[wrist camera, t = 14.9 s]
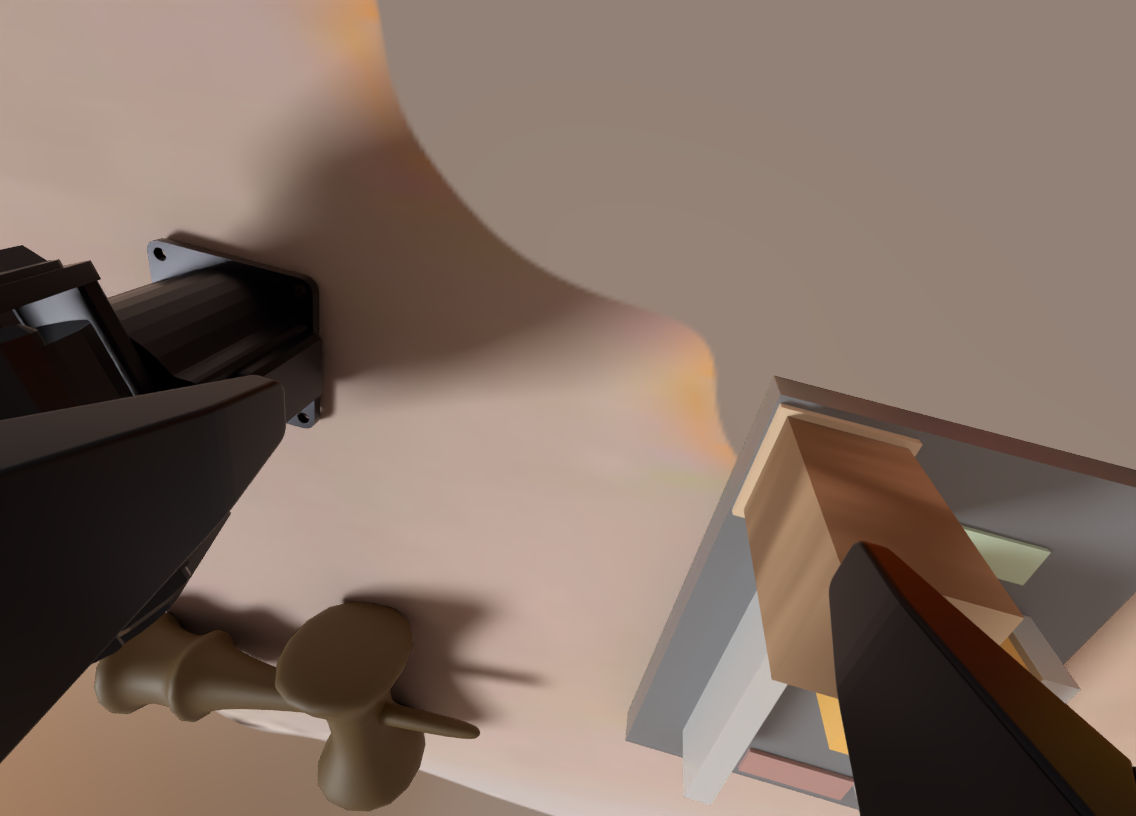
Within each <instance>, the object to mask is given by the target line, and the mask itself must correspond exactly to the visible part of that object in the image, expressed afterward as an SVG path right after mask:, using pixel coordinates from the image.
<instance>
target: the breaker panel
mask: <svg viewBox="0 0 1136 816" xmlns="http://www.w3.org/2000/svg"><path fill="white" fill-rule="evenodd" d="M787 416H789V417H792V418H796V419H800V420H804V421H807V422H811V423H815V424H819V425H822V426H826V427H830V428H834V429H837V430H841V431H845V432H848V433H852V434H856V435H860V436H863V437H867V438H871V439H875V440H878V441H882V442H886V443H890V444H893V445H897V446H901V447H905V448H908V449H910V451H911V452H912V454H913V455H914V457H915V458H916V460H917V461H918V463H919V464H920V466H921V467H922V468H923V470H924V471H925V473H926V474H927V476H928V477H929V479H930V480H931V482H932V483H933V485H934V486H935V488H936V489H937V490H938V492H939V493H940V495H941V496H942V498H943V499H944V501H945V502H946V504H947V505H948V507H949V508H950V510H951V511H952V512H953V514H954V515H955V517H956V518H957V520H958V521H959V523H960V524H961V526H962V527H963V529H964V530H965V532H966V533H967V534H968V536H969V537H970V539H971V540H972V542H973V543H974V545H975V546H976V548H977V549H978V551H979V552H980V554H981V555H982V556H983V558H984V559H985V561H986V562H987V564H988V565H989V567H990V568H991V570H992V571H993V573H994V574H995V576H996V577H997V579H998V580H999V581H1000V583H1001V584H1002V586H1003V587H1004V589H1005V590H1006V592H1007V593H1008V595H1009V596H1010V598H1011V599H1012V601H1013V602H1014V603H1015V605H1016V606H1017V608H1018V609H1019V611H1020V612H1021V614H1022V615H1023V617H1024V619H1023V620H1022V621H1021V623H1020V624H1019V625H1018V626H1017V627H1016V628H1015V629H1014V630H1013V632H1012V633H1011V634H1010V635H1009V636H1008V638H1009V639H1010V641H1011V643H1012V644H1013V646H1014V647H1015V649H1016V651H1017V652H1018V654H1019V655H1020V657H1021V659H1022V660H1023V662H1024V663H1025V665H1026V667H1027V668H1028V670H1029V671H1030V673H1031V674H1032V675H1034V676H1035V677H1036V678H1037V679H1038V680H1039V681H1040V682H1042V683H1043V684H1044V685H1045V686H1046V687H1047V688H1048V689H1050V690H1051V691H1052V692H1053V693H1054V694H1055V695H1056V696H1058V697H1059V698H1060V699H1061V700H1062V701H1063V702H1064V703H1067V702H1068V701H1069V700H1070V699H1072V698H1073V697H1074V696H1075V695H1076V694H1077V693H1078V692H1079V691H1080V690H1081V689H1080V688H1079V686H1078V685H1077V683H1076V682H1075V681H1074V679H1073V678H1072V676H1071V675H1070V673H1069V672H1068V671H1067V669H1066V668H1065V666H1064V665H1063V664H1064V663H1065V662H1066V661H1067V660H1068V659H1069V658H1070V657H1071V656H1072V655H1073V654H1074V653H1075V652H1076V651H1077V650H1078V649H1079V648H1080V647H1081V646H1082V645H1083V644H1084V643H1085V642H1086V641H1087V640H1088V639H1089V638H1090V637H1091V636H1092V635H1093V634H1094V633H1095V632H1096V631H1097V630H1098V629H1099V628H1100V627H1101V626H1102V625H1103V624H1104V623H1105V622H1106V621H1107V620H1108V619H1109V618H1110V617H1111V616H1112V615H1113V614H1114V613H1115V612H1116V611H1117V610H1118V609H1119V608H1120V607H1121V606H1122V605H1123V604H1124V603H1125V602H1126V601H1127V600H1128V599H1129V598H1130V597H1131V596H1132V595H1133V594H1134V593H1135V592H1136V470H1133V469H1129V468H1126V467H1122V466H1118V465H1114V464H1110V463H1107V462H1102V461H1099V460H1095V459H1091V458H1087V457H1084V456H1080V455H1076V454H1072V453H1068V452H1065V451H1061V450H1057V449H1053V448H1049V447H1045V446H1042V445H1038V444H1034V443H1030V442H1026V441H1022V440H1019V439H1015V438H1011V437H1007V436H1003V435H999V434H995V433H992V432H988V431H984V430H980V429H976V428H972V427H969V426H965V425H961V424H957V423H953V422H950V421H945V420H942V419H938V418H934V417H930V416H927V415H923V414H919V413H915V412H911V411H907V410H904V409H900V408H896V407H892V406H888V405H884V404H881V403H877V402H873V401H869V400H865V399H862V398H858V397H854V396H850V395H846V394H842V393H839V392H835V391H831V390H827V389H823V388H819V387H815V386H812V385H808V384H804V383H800V382H796V381H793V380H789V379H785V378H781V377H777V376H773V379H772V381H771V383H770V386H769V388H768V390H767V393H766V395H765V398H764V399H763V402H762V404H761V406H760V409H759V411H758V413H757V416H756V418H755V420H754V423H753V425H752V427H751V430H750V432H749V434H748V437H747V439H746V441H745V443H744V446H743V448H742V450H741V453H740V455H739V457H738V459H737V462H736V464H735V466H734V469H733V471H732V473H731V476H730V478H729V480H728V483H727V485H726V487H725V489H724V492H723V494H722V496H721V499H720V501H719V503H718V506H717V508H716V510H715V513H714V515H713V517H712V519H711V522H710V524H709V526H708V529H707V531H706V533H705V536H704V538H703V540H702V543H701V545H700V547H699V550H698V552H697V554H696V556H695V559H694V561H693V563H692V566H691V568H690V570H689V573H688V575H687V577H686V580H685V582H684V584H683V586H682V589H681V591H680V593H679V596H678V598H677V600H676V603H675V605H674V607H673V610H672V612H671V614H670V616H669V619H668V621H667V623H666V626H665V628H664V630H663V633H662V635H661V637H660V640H659V642H658V644H657V646H656V649H655V651H654V653H653V656H652V658H651V660H650V663H649V665H648V667H647V670H646V672H645V674H644V677H643V679H642V681H641V683H640V686H639V688H638V690H637V693H636V695H635V697H634V700H633V702H632V704H631V707H630V709H629V711H628V717H627V729H626V741H628V742H632V743H635V744H638V745H642V746H645V747H649V748H652V749H655V750H659V751H662V752H665V753H669V754H672V755H676V756H679V757H682V758H683V797H685V798H688V799H691V800H695V801H698V802H701V803H705V804H708V805H711V804H712V802H713V800H714V799H715V797H716V796H717V794H718V793H719V791H720V789H721V788H722V786H723V785H724V783H725V782H726V780H727V779H728V777H729V775H730V774H731V772H733V773H736V774H740V775H743V776H746V777H750V778H753V779H757V780H760V781H763V782H767V783H770V784H773V785H777V786H780V787H783V788H787V789H790V790H794V791H797V792H800V793H804V794H807V795H810V796H814V797H817V798H821V799H824V800H827V801H831V802H834V803H837V804H841V805H844V806H848V807H851V808H854V809H858V810H859V806H858V801H857V796H856V791H855V786H854V780H853V775H852V770H851V765H850V760H849V755H847V754H844V753H841V752H837V751H834V750H830V749H829V746H828V741H827V737H826V733H825V729H824V725H823V720H822V716H821V712H820V708H819V703H818V699H817V695H816V692H812V691H809V690H806V689H802V688H799V687H795V686H792V685H788V684H785V683H781V682H778V681H775V680H772V678H771V672H770V666H769V660H768V654H767V648H766V642H765V636H764V630H763V624H762V618H761V612H760V606H759V600H758V594H757V588H756V581H755V575H754V569H753V563H752V557H751V551H750V545H749V539H748V533H747V527H746V521H745V515H744V508H745V505H746V503H747V501H748V499H749V497H750V495H751V493H752V491H753V488H754V486H755V484H756V482H757V480H758V478H759V476H760V473H761V471H762V469H763V467H764V465H765V463H766V461H767V459H768V456H769V454H770V452H771V450H772V448H773V446H774V444H775V441H776V439H777V437H778V435H779V433H780V431H781V429H782V427H783V424H784V422H785V420H786V418H787Z"/></svg>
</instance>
